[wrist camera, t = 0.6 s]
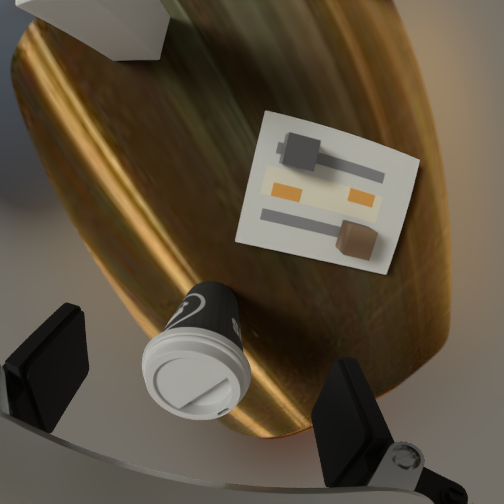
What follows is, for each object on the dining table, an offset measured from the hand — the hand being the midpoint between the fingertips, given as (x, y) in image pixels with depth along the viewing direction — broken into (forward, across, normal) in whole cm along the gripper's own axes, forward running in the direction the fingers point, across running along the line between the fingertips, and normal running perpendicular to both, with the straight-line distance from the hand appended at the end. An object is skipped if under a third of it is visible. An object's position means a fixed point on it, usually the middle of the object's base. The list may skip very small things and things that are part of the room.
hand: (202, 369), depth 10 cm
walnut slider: (+22, -12, -2) cm, 26 cm away
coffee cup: (+25, +1, +11) cm, 27 cm away
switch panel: (+25, -10, -5) cm, 27 cm away
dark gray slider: (+22, -5, -9) cm, 25 cm away
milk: (+25, +15, -20) cm, 35 cm away
